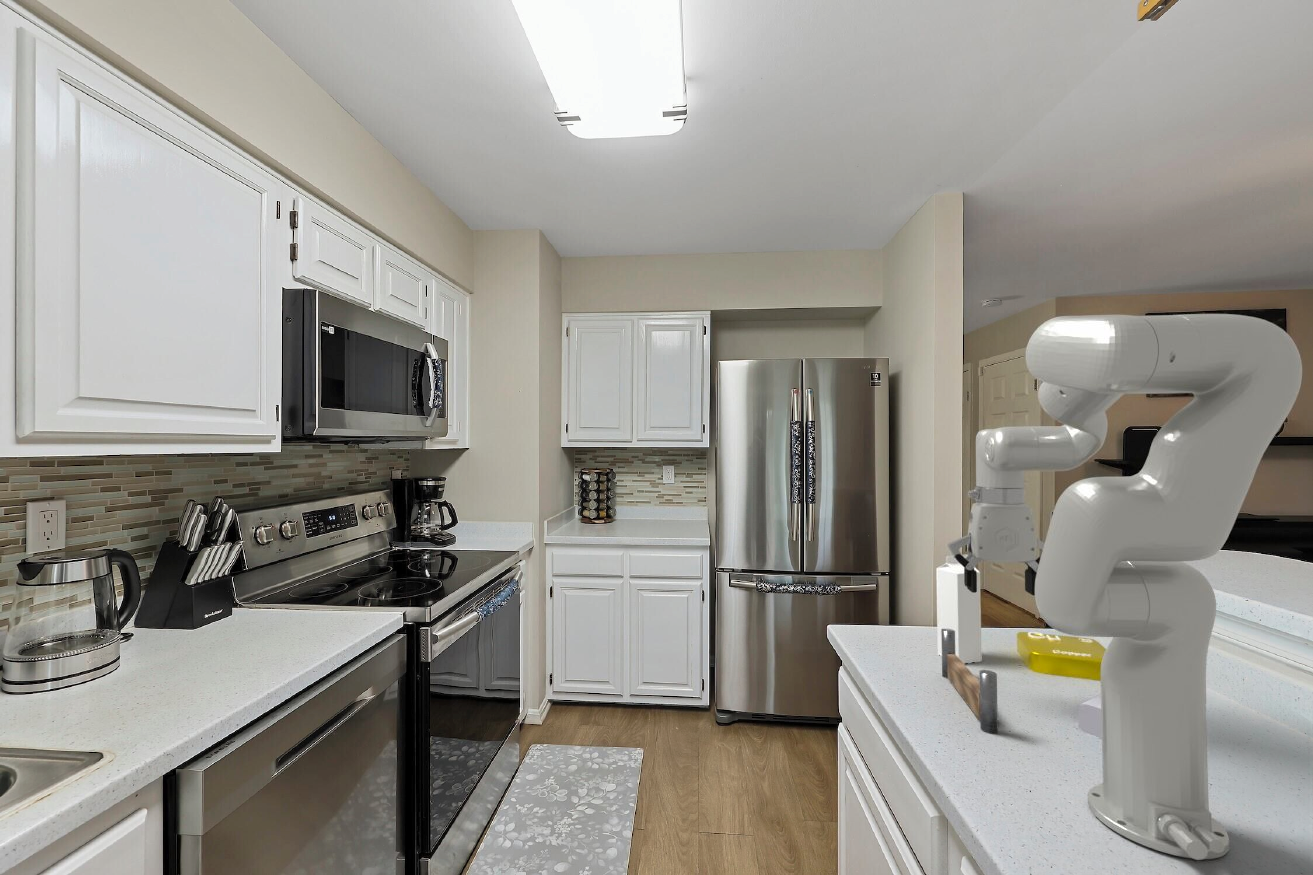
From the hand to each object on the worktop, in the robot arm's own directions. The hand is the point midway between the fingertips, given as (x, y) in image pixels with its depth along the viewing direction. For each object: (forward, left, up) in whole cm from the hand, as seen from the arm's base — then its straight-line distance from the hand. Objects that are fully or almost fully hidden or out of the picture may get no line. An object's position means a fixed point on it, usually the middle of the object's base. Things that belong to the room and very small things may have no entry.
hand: (1001, 592), depth 102 cm
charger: (-8, -16, -19) cm, 26 cm away
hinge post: (-13, +7, -19) cm, 24 cm away
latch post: (+9, +7, -19) cm, 22 cm away
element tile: (+21, -19, -20) cm, 34 cm away
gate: (-2, +7, -18) cm, 20 cm away
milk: (+20, +2, -19) cm, 28 cm away
